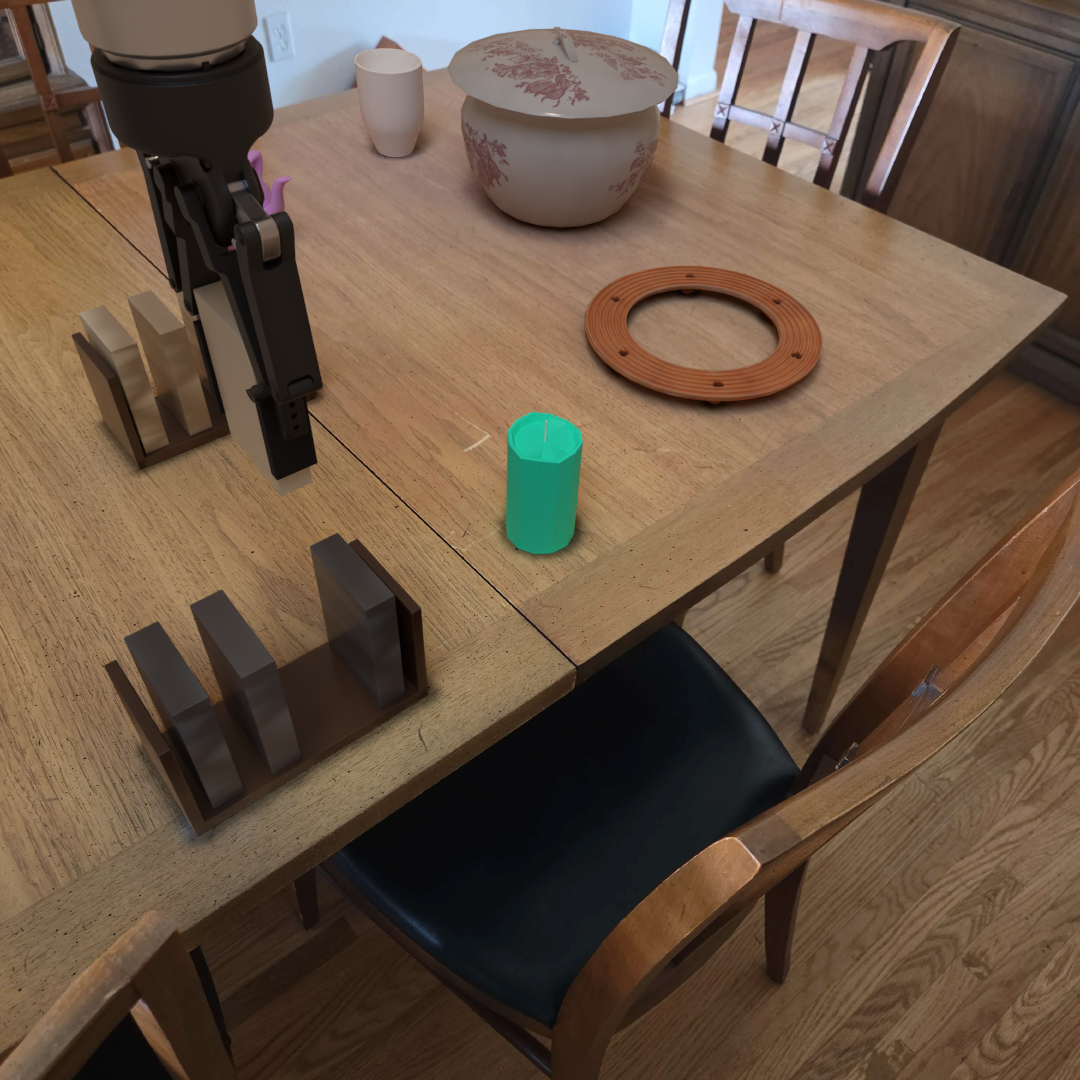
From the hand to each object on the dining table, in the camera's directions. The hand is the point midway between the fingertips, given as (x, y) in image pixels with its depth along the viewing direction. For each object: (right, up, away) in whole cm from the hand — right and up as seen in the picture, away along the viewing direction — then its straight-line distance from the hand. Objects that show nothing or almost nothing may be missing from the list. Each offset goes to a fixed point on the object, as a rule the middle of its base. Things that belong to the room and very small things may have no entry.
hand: (265, 434), depth 58 cm
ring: (+35, +15, +43) cm, 57 cm away
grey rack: (0, -20, +8) cm, 21 cm away
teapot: (-20, +31, +55) cm, 66 cm away
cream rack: (-14, +6, +31) cm, 35 cm away
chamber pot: (+19, +38, +64) cm, 77 cm away
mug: (-3, +49, +74) cm, 89 cm away
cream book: (0, -1, +2) cm, 2 cm away
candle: (+17, -6, +22) cm, 29 cm away
